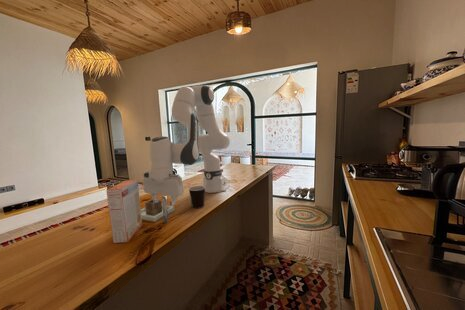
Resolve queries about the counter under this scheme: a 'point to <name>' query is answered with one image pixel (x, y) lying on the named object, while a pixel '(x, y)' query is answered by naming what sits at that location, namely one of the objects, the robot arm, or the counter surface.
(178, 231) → the counter surface
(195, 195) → the coffee mug
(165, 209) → the rod
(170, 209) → the sage dish
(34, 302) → the counter surface
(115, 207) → the cracker box
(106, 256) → the counter surface
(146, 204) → the walnut block
